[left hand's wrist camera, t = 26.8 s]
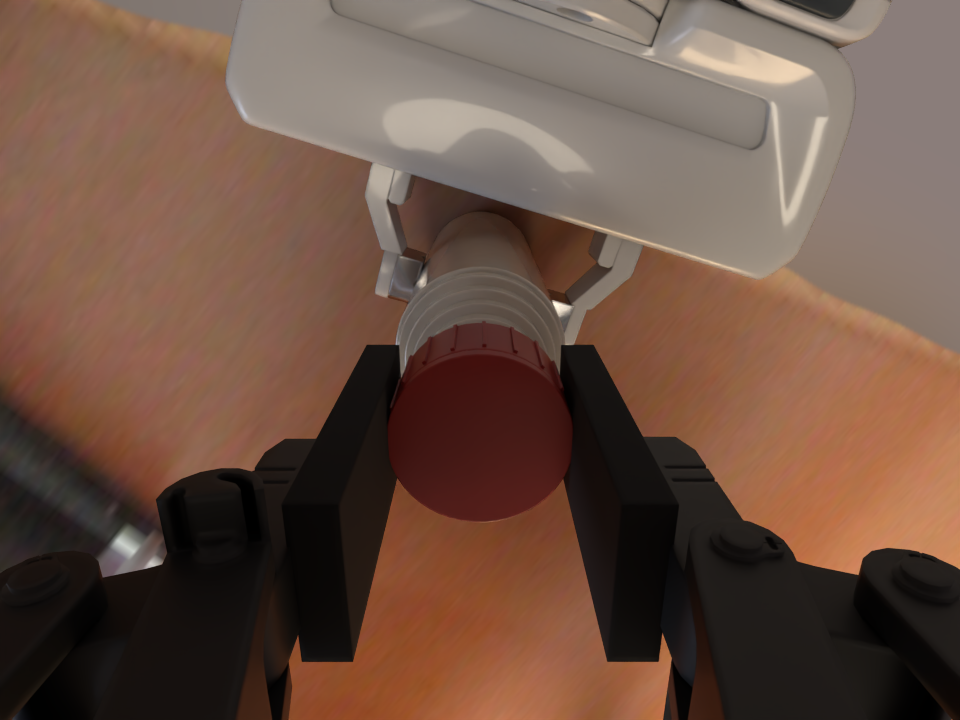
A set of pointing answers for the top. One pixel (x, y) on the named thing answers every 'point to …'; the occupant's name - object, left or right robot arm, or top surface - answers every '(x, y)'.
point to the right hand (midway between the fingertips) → (474, 319)
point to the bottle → (480, 286)
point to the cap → (480, 424)
